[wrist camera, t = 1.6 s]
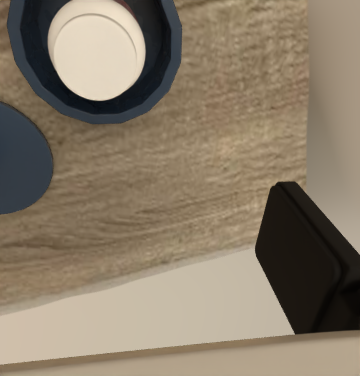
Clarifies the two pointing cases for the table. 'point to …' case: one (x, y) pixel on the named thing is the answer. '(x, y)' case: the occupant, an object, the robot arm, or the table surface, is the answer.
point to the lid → (22, 161)
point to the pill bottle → (96, 47)
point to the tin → (65, 98)
